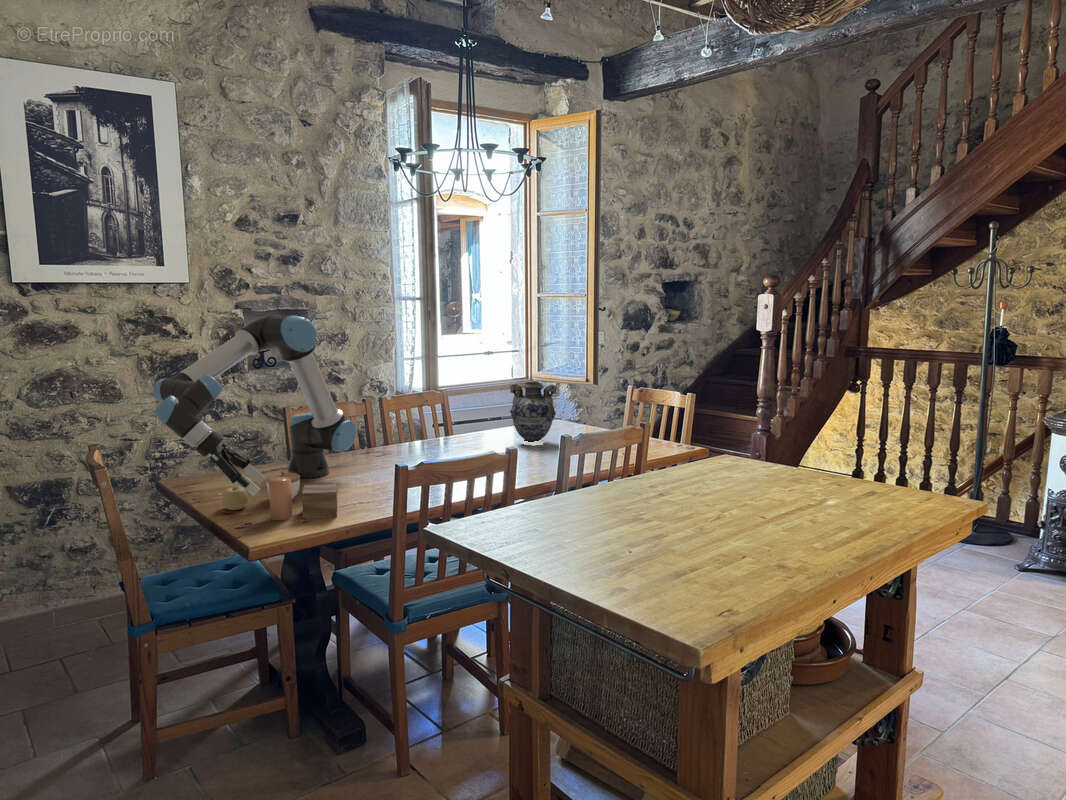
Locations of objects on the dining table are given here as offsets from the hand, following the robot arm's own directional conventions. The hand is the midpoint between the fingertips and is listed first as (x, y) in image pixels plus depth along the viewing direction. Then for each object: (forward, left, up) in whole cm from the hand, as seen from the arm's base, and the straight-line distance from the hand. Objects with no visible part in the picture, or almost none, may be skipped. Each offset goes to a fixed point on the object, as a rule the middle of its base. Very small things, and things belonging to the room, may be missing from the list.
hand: (259, 486), depth 226 cm
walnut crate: (-3, +17, -10) cm, 20 cm away
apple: (-14, -9, -10) cm, 20 cm away
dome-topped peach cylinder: (-1, +6, -10) cm, 12 cm away
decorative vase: (-93, +107, -10) cm, 142 cm away
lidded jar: (-22, +5, -10) cm, 25 cm away
